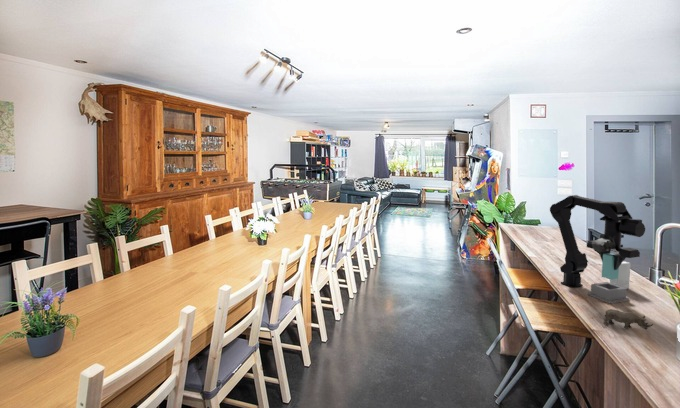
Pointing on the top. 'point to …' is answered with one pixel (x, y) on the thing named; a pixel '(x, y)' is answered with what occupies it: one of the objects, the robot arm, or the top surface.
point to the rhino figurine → (625, 318)
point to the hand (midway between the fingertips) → (610, 268)
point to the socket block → (608, 292)
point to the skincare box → (623, 275)
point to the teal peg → (609, 267)
